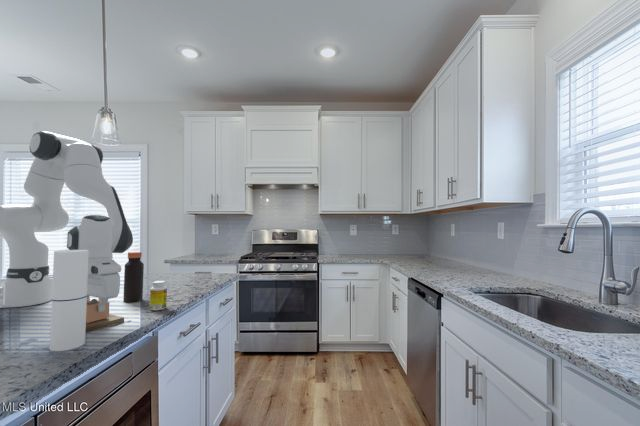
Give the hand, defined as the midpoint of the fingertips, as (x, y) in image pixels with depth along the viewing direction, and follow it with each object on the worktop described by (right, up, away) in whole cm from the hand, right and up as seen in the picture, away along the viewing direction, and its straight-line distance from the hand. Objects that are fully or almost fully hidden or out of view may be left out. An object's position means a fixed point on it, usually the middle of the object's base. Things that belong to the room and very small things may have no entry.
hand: (93, 309), depth 95 cm
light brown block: (0, -3, 0) cm, 3 cm away
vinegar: (-6, -6, +29) cm, 30 cm away
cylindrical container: (+5, -5, -16) cm, 18 cm away
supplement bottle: (+11, -6, +18) cm, 22 cm away
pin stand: (0, -5, 0) cm, 5 cm away
